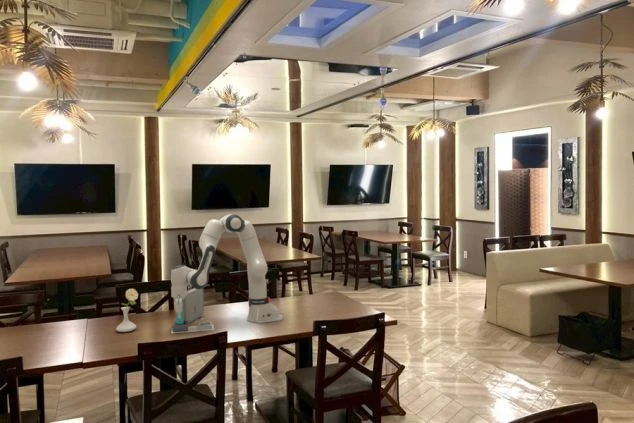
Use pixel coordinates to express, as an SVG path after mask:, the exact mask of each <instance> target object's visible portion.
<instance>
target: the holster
mask: <svg viewBox="0 0 634 423" xmlns="http://www.w3.org/2000/svg"><path fill="white" fill-rule="evenodd" d="M212 325H213V321H199V322H197V326H198V330H207V331H210V330H209V329H212Z"/></svg>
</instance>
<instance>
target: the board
mask: <svg viewBox="0 0 634 423" xmlns="http://www.w3.org/2000/svg"><path fill="white" fill-rule="evenodd" d="M203 331H204V332H205V331H215V325H214V324H212V329H209V330H198V325H191V326H190V325H189V326H188V331H186V332H185V333H192V332H203ZM170 333H171V334H179V333H180V334H181V333H183V332H173V330H172V329H171V331H170Z"/></svg>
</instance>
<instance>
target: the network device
mask: <svg viewBox="0 0 634 423" xmlns="http://www.w3.org/2000/svg"><path fill="white" fill-rule="evenodd" d="M204 301H205V300H204V288H203V289H195V288H194V287H193V288H192V289H191V288H190V289H189V290H187V296H186V297H185V299H184V305H183V315H184V321H188V324H190V323H192V322H193V321H196V320H197V319H200V320H204V317H203V315H204V313H205V310H204V307H205V306H204V304H205V303H204ZM201 316H202V317H201Z"/></svg>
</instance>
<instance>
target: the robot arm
mask: <svg viewBox="0 0 634 423" xmlns="http://www.w3.org/2000/svg"><path fill="white" fill-rule="evenodd" d="M223 233H236V234H237V236H238V239H239V242H240V245H241V250H242V252H243V255H244V257H245V260H246V264H247V265H246V268H247V269H246V270H247V272H246V273H247V280H248V303H247V304H248V314H247V318H246V319H247V321H248V322H251V323H256V324H263V323H270V322H278V321H283V319H284V317H283V315H282V314H281V313H280V311H279V309H278V307H277V306H276V305H275V304H273V303H271V302H272V298H270V297H269V296H267V291H268V290H267V280H266V275H267V273H268V263H267V261H266V259H265V256H264V254H263V251H262V248H261V245H260V242H259V238H258V236H257V231H256V230H255V227H254V225H253V223H252V222H251V221H249V220H244V219H243V218H242V217H240V215H237V214H231V213H229V214H226V215H223V216H221V217H220V218H219V219H215V218H214V219H212V218H211V219H210V220H209V221H207V224H206V225H205V227H204V228H203V230H202V233H201V235H200V237H199V241H198V246H199V248H200V250H201V252H202V258H201V260H200V263H199V266H198V269H194V268H190V267H188V266H186V265H185V264H179V265H175V266H173V267H172V268H171V271H170V272H171V273H170V283H171V286H170V287H171V288H170V289H171V291H170V292H171V295H170V296H171V298H173V300H174V301H175V302H174V303H175V304H174V306H175V307H174V308H175V314H176V313H178V318H181V313H182V309H183V305H184V299H185V297H186V296H187V291H188V286H190V287H193V288H195V289H203V290H204V289H205V287H206V286H207V285H208V283H209V276H210V275H209V274H210V271H211V267H212V265H213V261H214V259H215V255H216V250H217V247H218V244H219V242H220V239H221V238H222V235H223Z"/></svg>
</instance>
